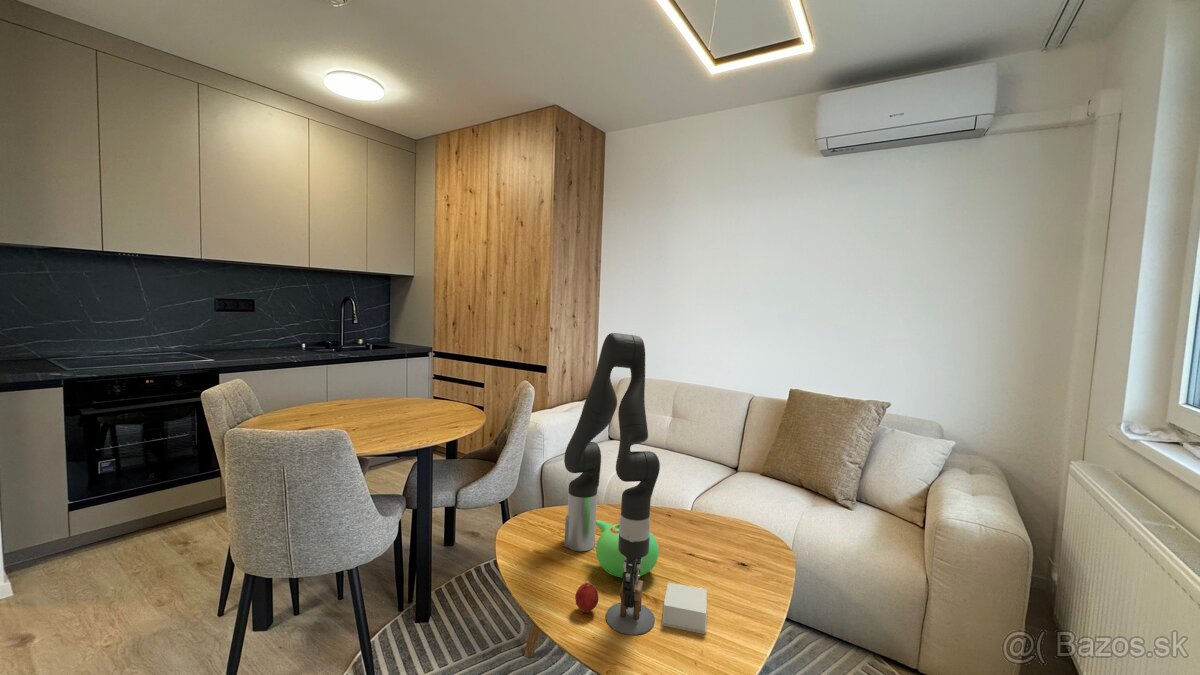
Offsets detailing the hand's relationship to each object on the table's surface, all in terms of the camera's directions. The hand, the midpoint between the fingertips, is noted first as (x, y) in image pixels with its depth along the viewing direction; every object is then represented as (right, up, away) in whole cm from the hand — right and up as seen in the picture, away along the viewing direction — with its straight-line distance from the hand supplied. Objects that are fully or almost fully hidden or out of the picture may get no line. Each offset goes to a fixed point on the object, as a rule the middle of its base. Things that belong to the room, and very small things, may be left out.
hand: (631, 599), depth 114 cm
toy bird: (0, -4, +21) cm, 21 cm away
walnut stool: (0, -3, 0) cm, 3 cm away
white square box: (+14, -5, +2) cm, 15 cm away
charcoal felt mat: (0, -5, 0) cm, 5 cm away
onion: (-11, -4, +2) cm, 12 cm away
